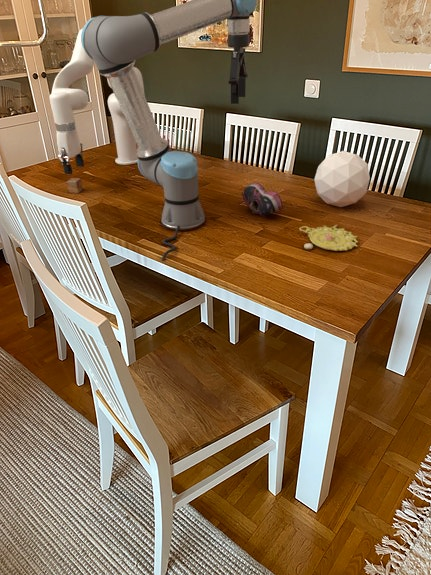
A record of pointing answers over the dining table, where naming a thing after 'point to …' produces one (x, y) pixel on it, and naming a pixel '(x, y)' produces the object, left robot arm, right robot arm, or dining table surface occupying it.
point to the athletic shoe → (261, 200)
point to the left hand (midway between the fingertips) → (74, 170)
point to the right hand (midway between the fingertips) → (238, 100)
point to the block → (74, 185)
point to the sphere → (342, 179)
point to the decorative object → (330, 238)
